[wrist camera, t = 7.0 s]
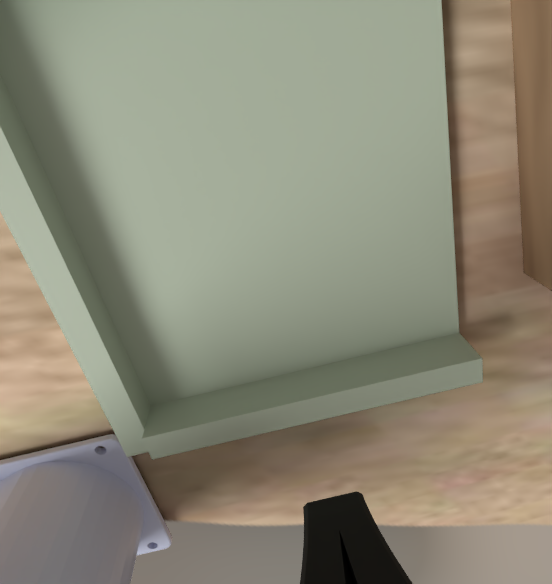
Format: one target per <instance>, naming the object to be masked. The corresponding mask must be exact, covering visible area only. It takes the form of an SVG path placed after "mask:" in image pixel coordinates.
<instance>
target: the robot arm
mask: <svg viewBox="0 0 552 584" xmlns="http://www.w3.org/2000/svg"><path fill="white" fill-rule="evenodd" d="M98 446H102V447H104V448H100V447H98ZM303 508H304V548H303V561H302V572H301V580H300V584H412V582H411V581H410V579H409V578H408V576H407V575H406V573H405V572H404V570H403V568H402V567H401V565H400V564H399V562H398V561H397V559H396V558H395V556H394V555H393V553H392V552H391V550H390V548H389V546H388V545H387V543H386V541H385V539H384V537H383V536H382V534H381V532H380V531H379V529H378V527H377V525H376V523H375V521H374V519H373V517H372V515H371V513H370V511H369V509H368V507H367V505H366V502H365V500H364V497H363V495H362V494H361V493H359V492H353V493H348V494H344V495H340V496H335V497H331V498H327V499H322V500H318V501H313V502H309V503H307V504H306V505H305V506H304V507H303ZM171 542H172V535H171V533H170V531H169V529H168V527H167V525H166V523H165V521H164V519H163V517H162V515H161V514H160V512H159V510H158V508H157V506H156V504H155V502H154V500H153V498H152V496H151V494H150V492H149V490H148V488H147V486H146V484H145V482H144V480H143V478H142V476H141V474H140V472H139V470H138V468H137V466H136V464H135V462H134V461H133V459H132V457H131V456H129V457H127V456H126V454H125V452H124V450H123V448H122V446H121V444H120V442H119V440H118V438H117V436H116V435H114V434H110V435H105V436H101V437H97V438H92V439H88V440H84V441H80V442H75V443H71V444H67V445H63V446H59V447H54V448H50V449H46V450H42V451H37V452H33V453H29V454H25V455H20V456H16V457H12V458H8V459H4V460H0V584H130V583H131V578H132V573H133V569H134V564H135V560H136V555H140V554H144V553H148V552H153V551H158V550H161V549H165V548H168V547H169V546H170V545H171Z"/></svg>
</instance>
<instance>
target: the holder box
mask: <svg viewBox="0 0 552 584" xmlns="http://www.w3.org/2000/svg"><path fill="white" fill-rule="evenodd" d="M0 212H1V213H2V215H3V217H4V219H5V221H6V223H7V225H8V227H9V229H10V231H11V233H12V235H13V237H14V239H15V241H16V243H17V245H18V246H19V248H20V250H21V252H22V254H23V256H24V258H25V260H26V262H27V264H28V266H29V268H30V270H31V272H32V274H33V276H34V277H35V279H36V281H37V283H38V285H39V287H40V289H41V291H42V293H43V295H44V297H45V299H46V301H47V303H48V305H49V307H50V308H51V310H52V312H53V314H54V316H55V318H56V320H57V322H58V324H59V326H60V328H61V330H62V332H63V334H64V336H65V338H66V340H67V341H68V343H69V345H70V347H71V349H72V351H73V353H74V355H75V357H76V359H77V361H78V363H79V365H80V367H81V369H82V371H83V372H84V374H85V376H86V378H87V380H88V382H89V384H90V386H91V388H92V390H93V392H94V394H95V396H96V398H97V400H98V402H99V403H100V405H101V407H102V409H103V411H104V413H105V415H106V417H107V419H108V421H109V423H110V425H111V427H112V429H113V431H114V433H115V435H116V436H117V438H118V440H119V442H120V444H121V446H122V448H123V450H124V452H125V454H126V456H127V457H129V456H134V455H138V454H142V453H146V452H149V454H150V456H151V458H152V460H153V459H157V458H161V457H165V456H170V455H174V454H178V453H183V452H187V451H191V450H195V449H200V448H204V447H208V446H212V445H217V444H221V443H225V442H229V441H234V440H238V439H242V438H247V437H251V436H255V435H259V434H264V433H268V432H272V431H276V430H281V429H285V428H289V427H294V426H298V425H302V424H306V423H311V422H315V421H319V420H323V419H328V418H332V417H336V416H340V415H345V414H349V413H353V412H358V411H362V410H366V409H370V408H375V407H379V406H383V405H387V404H392V403H396V402H400V401H404V400H409V399H413V398H417V397H422V396H426V395H430V394H434V393H439V392H443V391H447V390H451V389H456V388H460V387H464V386H469V385H473V384H477V383H481V382H483V368H482V357H481V356H480V355H479V354H478V353H477V352H476V351H475V350H474V349H473V347H472V346H471V345H470V344H469V343H468V342H467V341H466V340H465V339H464V337H463V336H462V335H461V334H460V333H459V318H458V300H457V281H456V263H455V244H454V225H453V207H452V188H451V170H450V151H449V133H448V114H447V95H446V77H445V58H444V40H443V21H442V3H441V0H0Z"/></svg>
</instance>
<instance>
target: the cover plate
mask: <svg viewBox="0 0 552 584" xmlns="http://www.w3.org/2000/svg"><path fill="white" fill-rule="evenodd" d="M511 21H512V41H513V62H514V82H515V103H516V123H517V144H518V164H519V185H520V205H521V226H522V246H523V267H524V273H525V274H527V275H528V276H530V277H531V278H533V279H534V280H536V281H537V282H539V283H541V284H542V285H544V286H545V287H547V288H548V289H550V290H551V291H552V0H511Z"/></svg>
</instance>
